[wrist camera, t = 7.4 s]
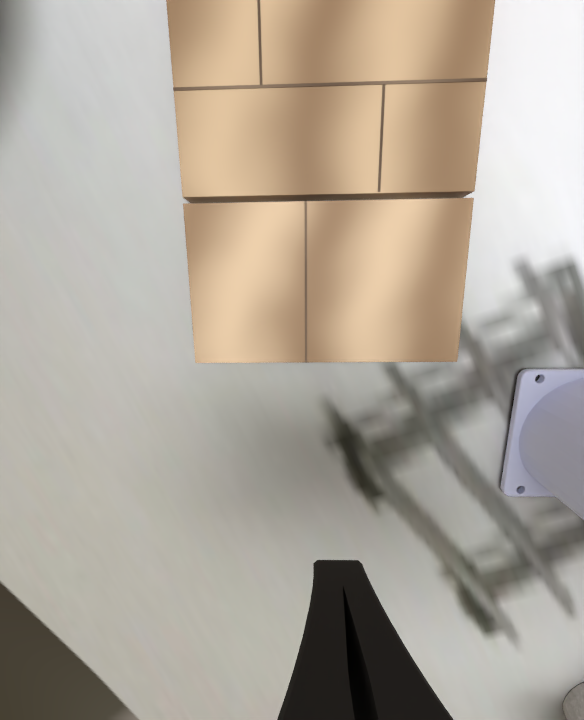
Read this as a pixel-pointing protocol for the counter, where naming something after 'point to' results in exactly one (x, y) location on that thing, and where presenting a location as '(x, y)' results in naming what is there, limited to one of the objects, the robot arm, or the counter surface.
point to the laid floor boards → (328, 97)
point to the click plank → (327, 280)
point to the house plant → (574, 703)
